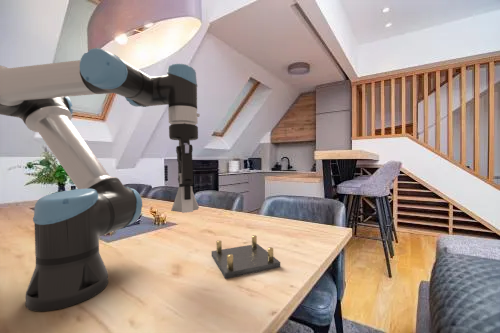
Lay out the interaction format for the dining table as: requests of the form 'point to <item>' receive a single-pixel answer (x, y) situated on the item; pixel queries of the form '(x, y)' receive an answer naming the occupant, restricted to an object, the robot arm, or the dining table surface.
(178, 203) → the flask
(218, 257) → the pin plate
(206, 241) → the dining table surface
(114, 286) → the dining table surface
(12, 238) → the dining table surface
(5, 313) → the dining table surface
